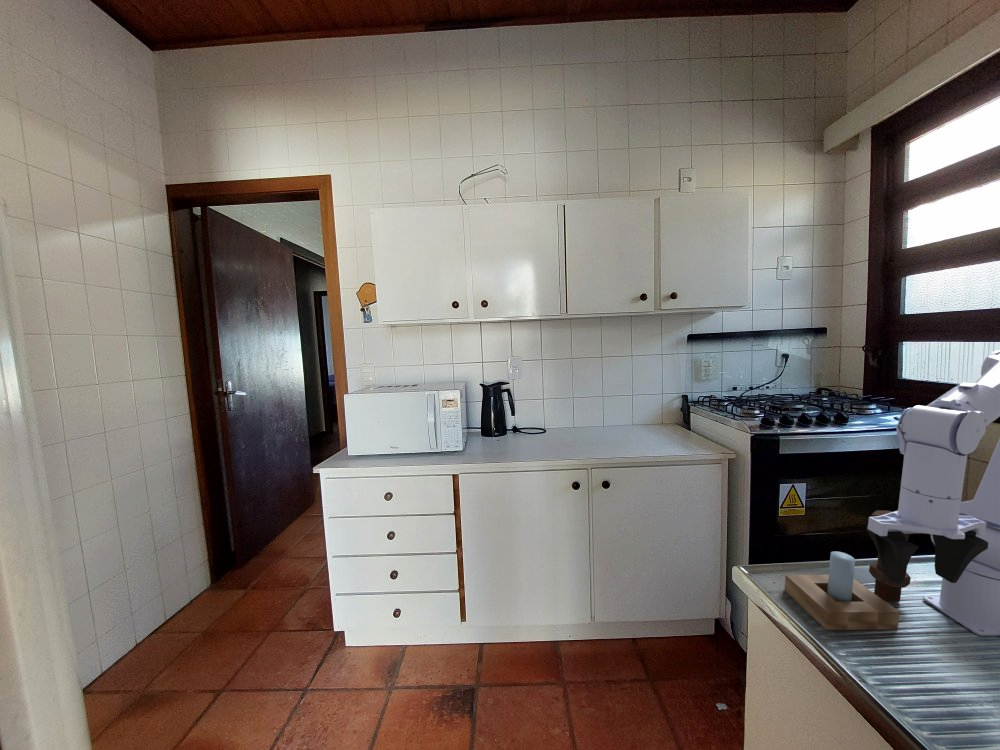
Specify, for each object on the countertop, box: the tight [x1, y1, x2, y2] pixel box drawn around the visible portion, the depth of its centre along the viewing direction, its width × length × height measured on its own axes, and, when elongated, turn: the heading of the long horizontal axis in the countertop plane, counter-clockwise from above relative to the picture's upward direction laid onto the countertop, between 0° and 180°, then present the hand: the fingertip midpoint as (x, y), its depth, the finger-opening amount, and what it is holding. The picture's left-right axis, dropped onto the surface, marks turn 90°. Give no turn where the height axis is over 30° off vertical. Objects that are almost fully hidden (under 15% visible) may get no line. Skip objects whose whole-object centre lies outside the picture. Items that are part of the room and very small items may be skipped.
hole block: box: [783, 574, 900, 631], centre depth 63 cm, size 11×9×3 cm
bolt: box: [868, 509, 914, 604], centre depth 65 cm, size 6×5×15 cm
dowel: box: [827, 551, 856, 602], centre depth 63 cm, size 3×3×10 cm
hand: (919, 578), depth 55 cm, fingers open, 7 cm apart
